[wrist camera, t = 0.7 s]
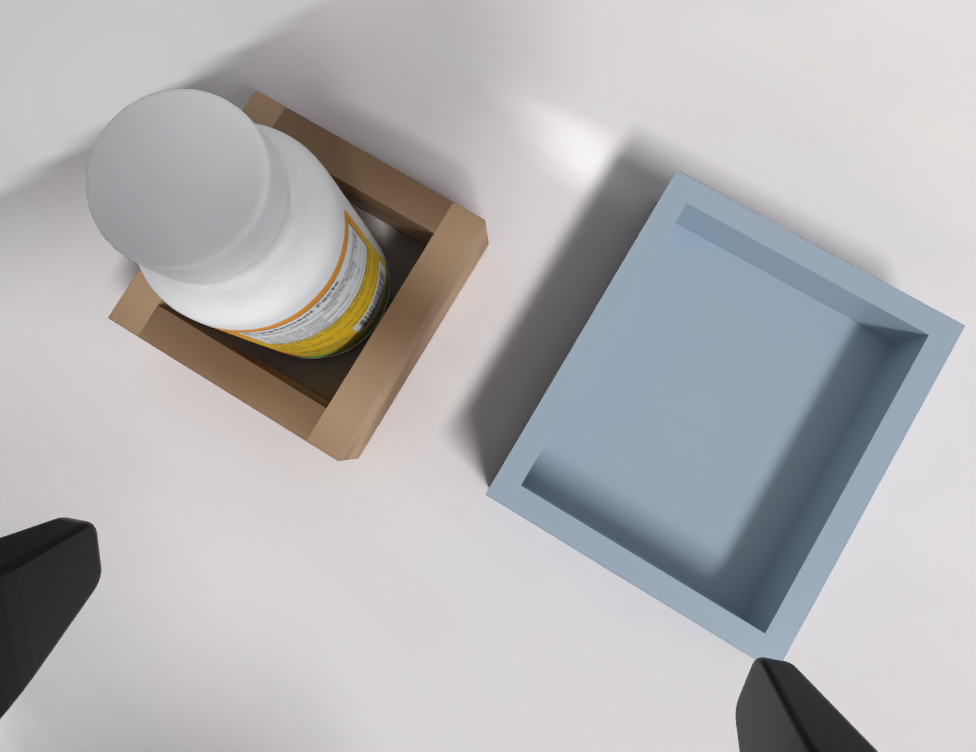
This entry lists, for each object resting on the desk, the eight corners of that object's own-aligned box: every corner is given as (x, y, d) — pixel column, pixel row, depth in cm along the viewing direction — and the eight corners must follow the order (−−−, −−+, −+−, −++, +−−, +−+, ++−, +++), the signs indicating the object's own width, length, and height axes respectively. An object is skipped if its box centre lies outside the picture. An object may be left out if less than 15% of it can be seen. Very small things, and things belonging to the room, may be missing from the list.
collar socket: (358, 458, 22) (337, 461, 19) (152, 331, 23) (108, 318, 20) (488, 244, 22) (484, 220, 20) (283, 127, 23) (255, 90, 21)
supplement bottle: (228, 248, 23) (18, 109, 13) (363, 195, 23) (251, 17, 13) (275, 383, 22) (91, 341, 13) (414, 328, 22) (336, 245, 13)
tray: (744, 644, 21) (776, 672, 18) (488, 487, 22) (485, 494, 19) (913, 338, 21) (964, 325, 19) (658, 200, 22) (677, 170, 20)
